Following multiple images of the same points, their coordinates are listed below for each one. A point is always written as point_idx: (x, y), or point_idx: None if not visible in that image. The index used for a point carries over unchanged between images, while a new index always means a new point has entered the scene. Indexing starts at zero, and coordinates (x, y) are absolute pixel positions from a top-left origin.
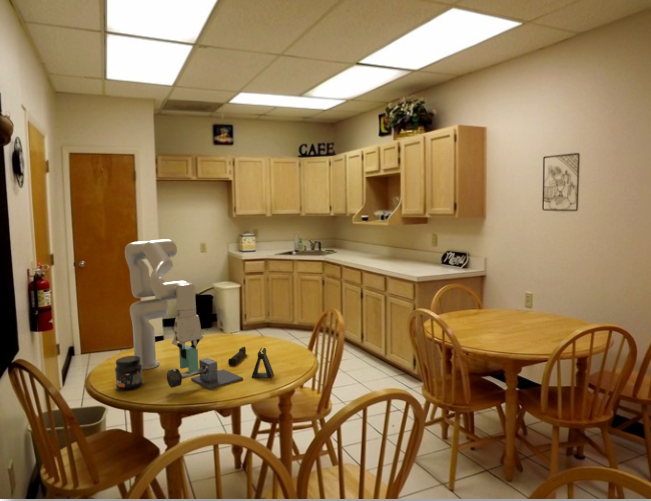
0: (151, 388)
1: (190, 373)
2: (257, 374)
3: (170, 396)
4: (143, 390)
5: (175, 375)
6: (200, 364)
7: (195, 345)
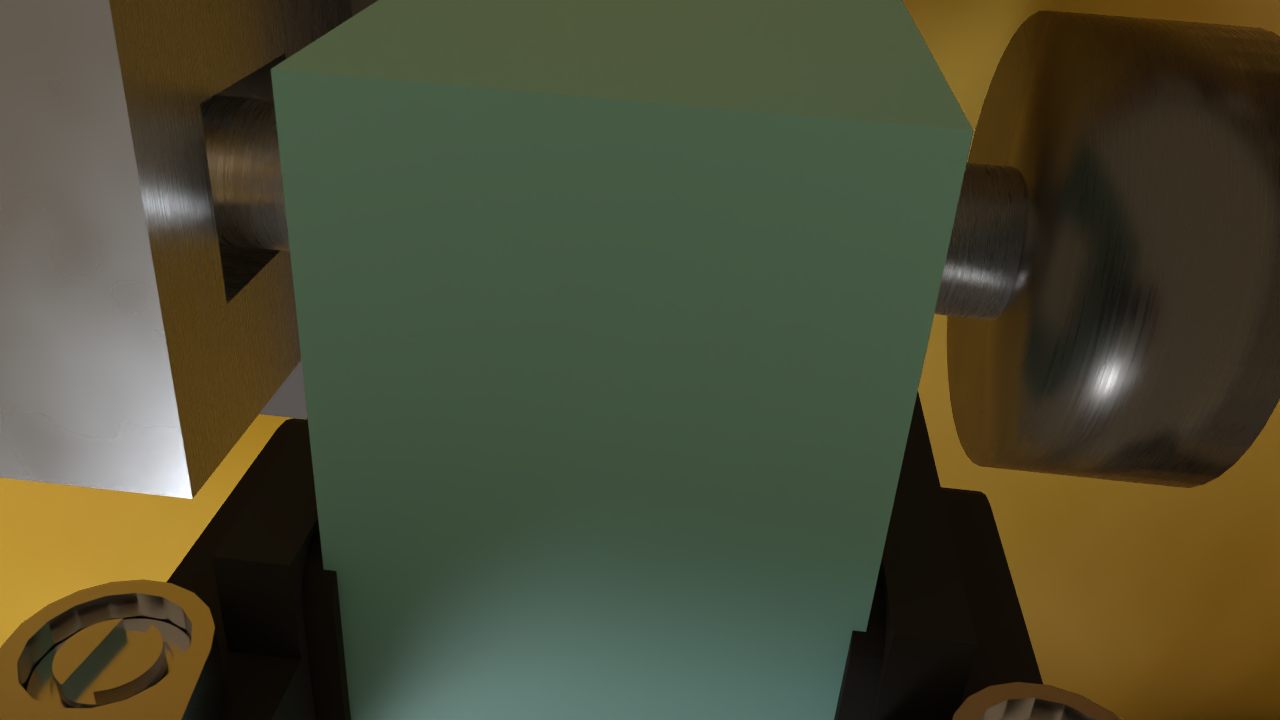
0: (1110, 593)
1: None
2: None
3: (1217, 16)
4: (1240, 615)
5: (1262, 107)
6: (234, 388)
7: (135, 648)
